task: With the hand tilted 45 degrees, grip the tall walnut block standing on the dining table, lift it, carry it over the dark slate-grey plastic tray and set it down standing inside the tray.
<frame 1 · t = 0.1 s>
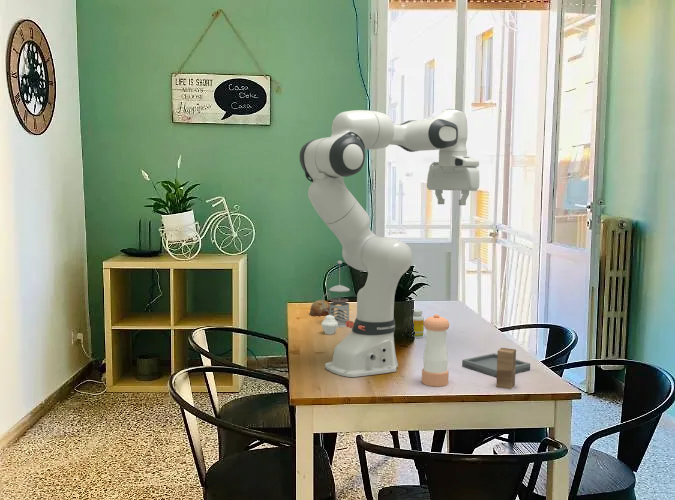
hand: (451, 204, 211), 48 cm above the table, tool pointing down, fingers open, 8 cm apart
walnut block: (505, 385, 179), on the table
muffin: (329, 334, 238), on the table
supplement bottle: (415, 337, 235), on the table
tray: (495, 368, 196), on the table
bread roll: (322, 315, 272), on the table
french press: (336, 324, 253), on the table
pepper shaker: (434, 383, 181), on the table
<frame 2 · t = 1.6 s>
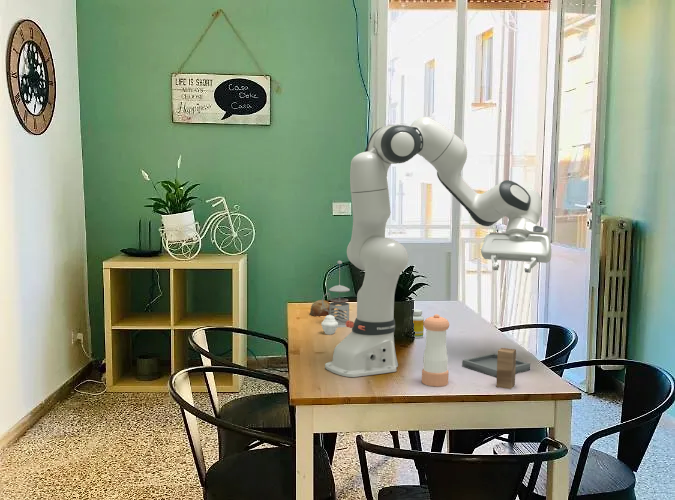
hand: (510, 270, 191), 30 cm above the table, tool tilted 45°, fingers open, 8 cm apart
nothing on the table moved.
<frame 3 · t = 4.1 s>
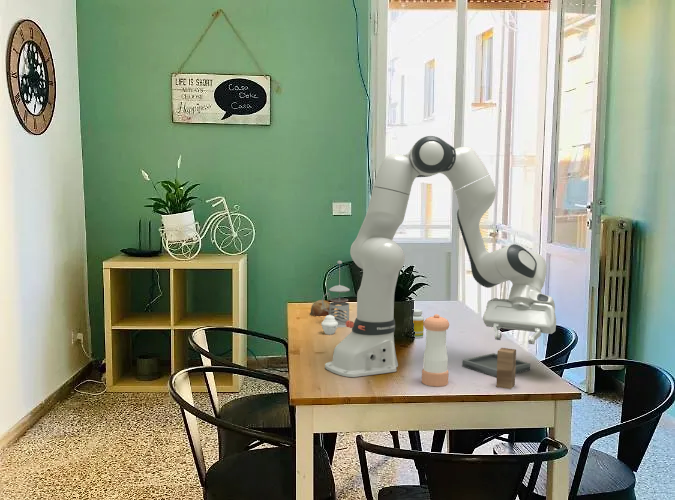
hand: (514, 341, 184), 11 cm above the table, tool tilted 45°, fingers open, 8 cm apart
nothing on the table moved.
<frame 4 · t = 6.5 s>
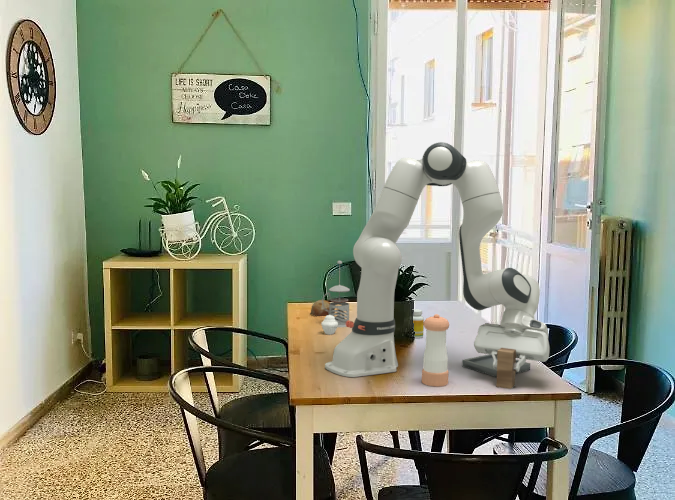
hand: (505, 369, 178), 5 cm above the table, tool tilted 45°, fingers closed on walnut block, 4 cm apart
walnut block: (505, 385, 179), on the table, touching gripper
everything else where it was.
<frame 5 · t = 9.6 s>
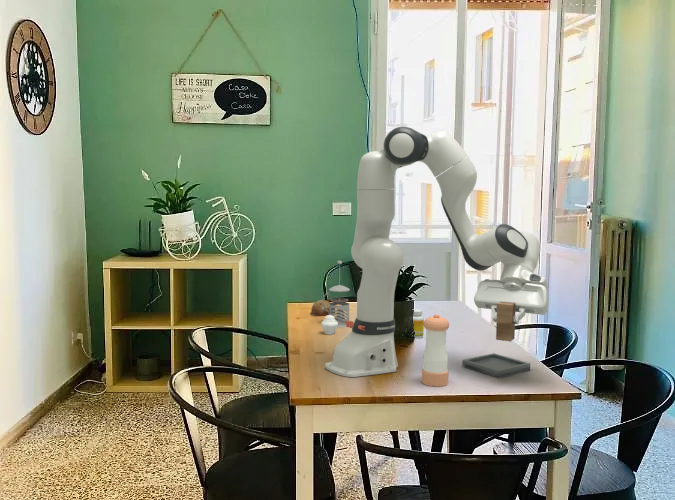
hand: (505, 321, 179), 17 cm above the table, tool tilted 45°, fingers closed on walnut block, 4 cm apart
walnut block: (505, 339, 180), point 12 cm above the table, touching gripper
everything else where it was.
when the fingers open (7 cm above the table, at t = 12.9 s): walnut block drops 1 cm, resting on tray.
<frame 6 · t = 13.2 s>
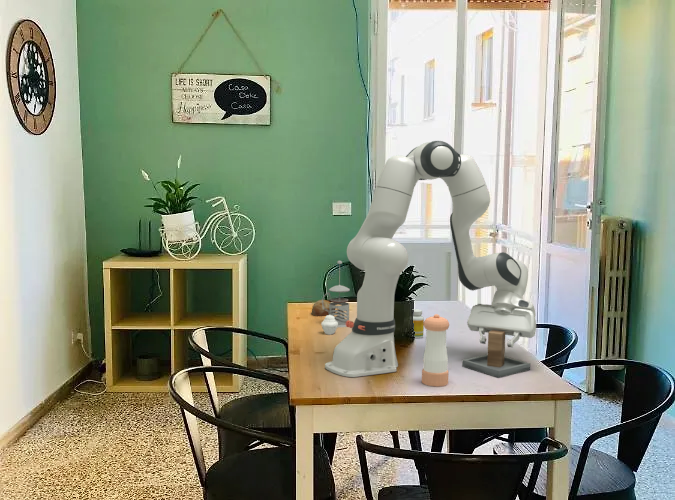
hand: (495, 344, 194), 7 cm above the table, tool tilted 45°, fingers open, 7 cm apart
walnut block: (495, 364, 196), point 1 cm above the table, touching tray
everything else where it was.
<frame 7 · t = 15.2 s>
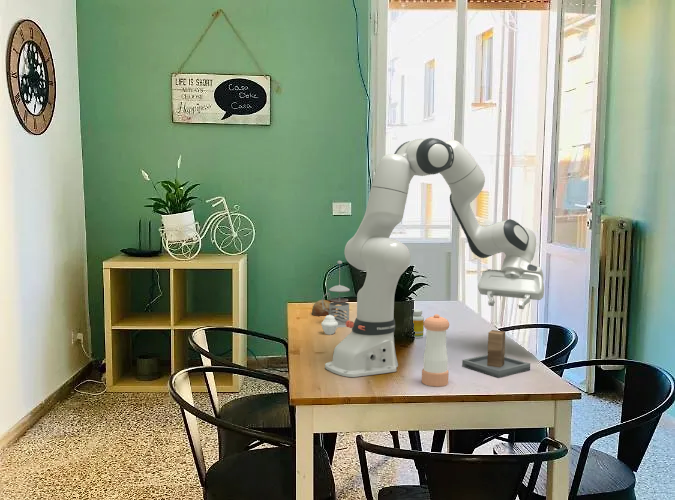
hand: (505, 306, 203), 17 cm above the table, tool tilted 45°, fingers open, 8 cm apart
nothing on the table moved.
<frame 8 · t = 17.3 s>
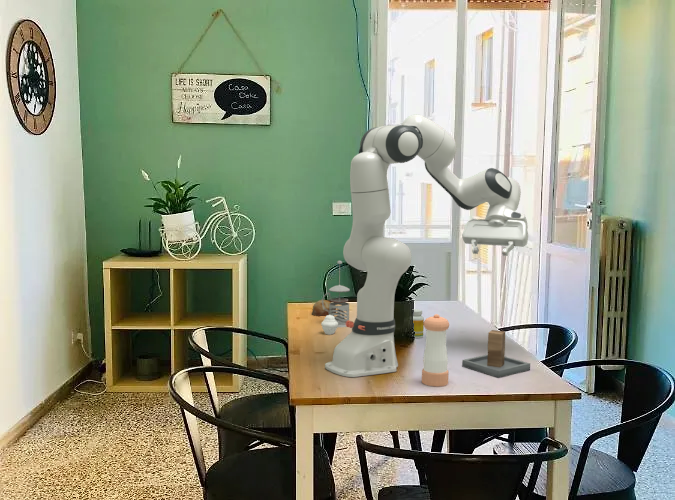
hand: (489, 253, 202), 33 cm above the table, tool tilted 45°, fingers open, 8 cm apart
nothing on the table moved.
at the end: walnut block inside the target area on the tray (0.0 cm from its centre), point 1.0 cm above the tray's base; walnut block tilted 0°; the gripper is holding nothing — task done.
